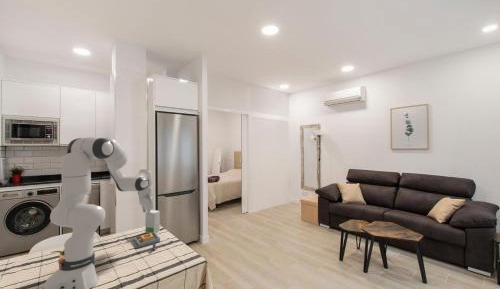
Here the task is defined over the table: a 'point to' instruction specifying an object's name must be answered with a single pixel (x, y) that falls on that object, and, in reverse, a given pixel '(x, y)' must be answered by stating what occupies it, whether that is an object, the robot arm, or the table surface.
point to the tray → (142, 244)
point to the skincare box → (153, 222)
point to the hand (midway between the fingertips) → (146, 213)
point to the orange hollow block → (146, 238)
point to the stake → (154, 247)
